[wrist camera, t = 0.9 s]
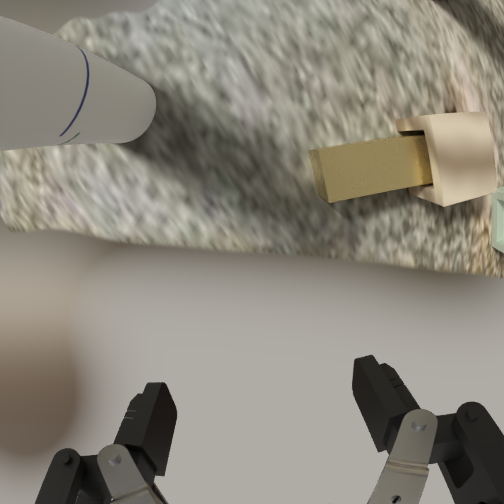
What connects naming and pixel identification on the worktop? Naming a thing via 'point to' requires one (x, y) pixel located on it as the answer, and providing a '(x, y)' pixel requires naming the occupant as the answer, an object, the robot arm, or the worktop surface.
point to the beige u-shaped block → (455, 156)
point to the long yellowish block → (371, 167)
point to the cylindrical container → (65, 93)
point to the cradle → (498, 219)
